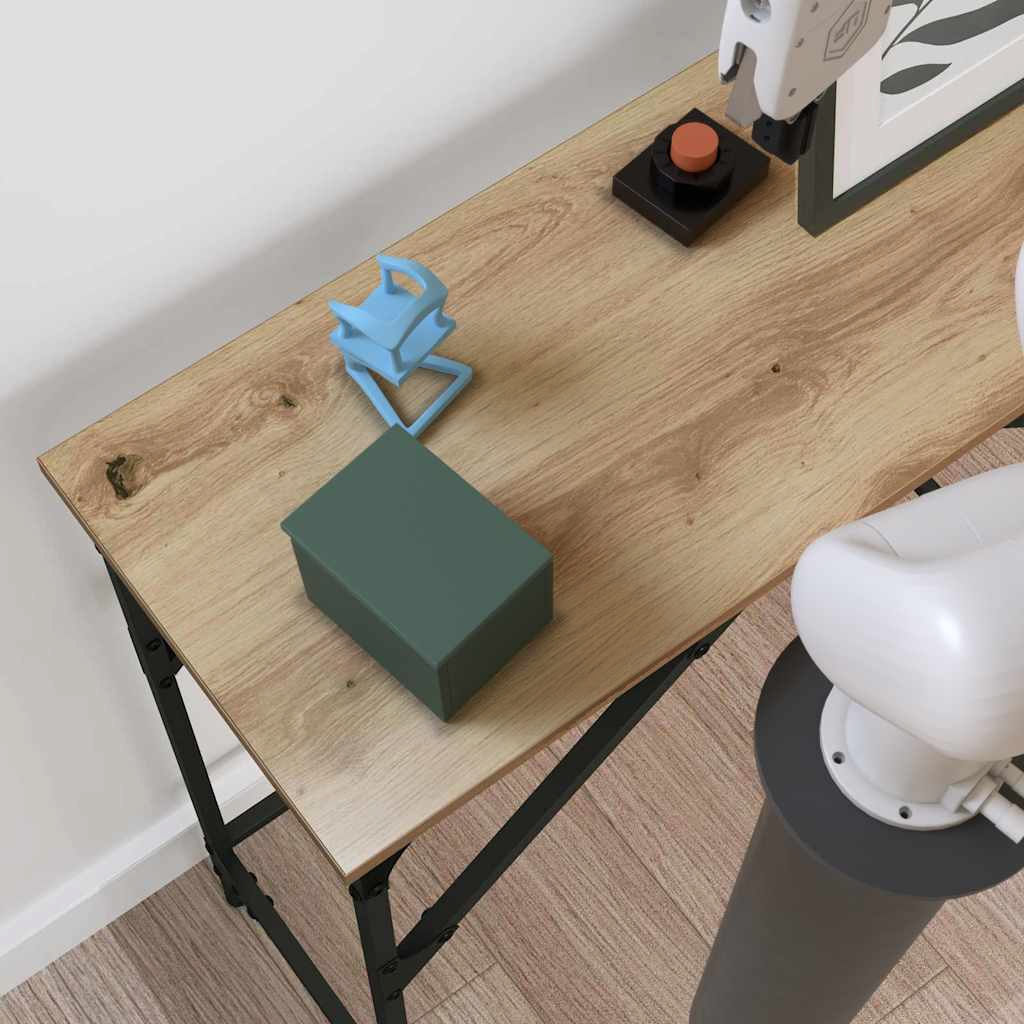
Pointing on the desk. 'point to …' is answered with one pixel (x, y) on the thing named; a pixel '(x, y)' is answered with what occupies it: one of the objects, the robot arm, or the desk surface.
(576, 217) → the desk surface
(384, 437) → the box lid
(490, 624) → the green box
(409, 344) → the chair
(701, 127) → the button
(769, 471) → the desk surface
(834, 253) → the desk surface
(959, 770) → the robot arm
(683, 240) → the push button base
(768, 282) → the desk surface
